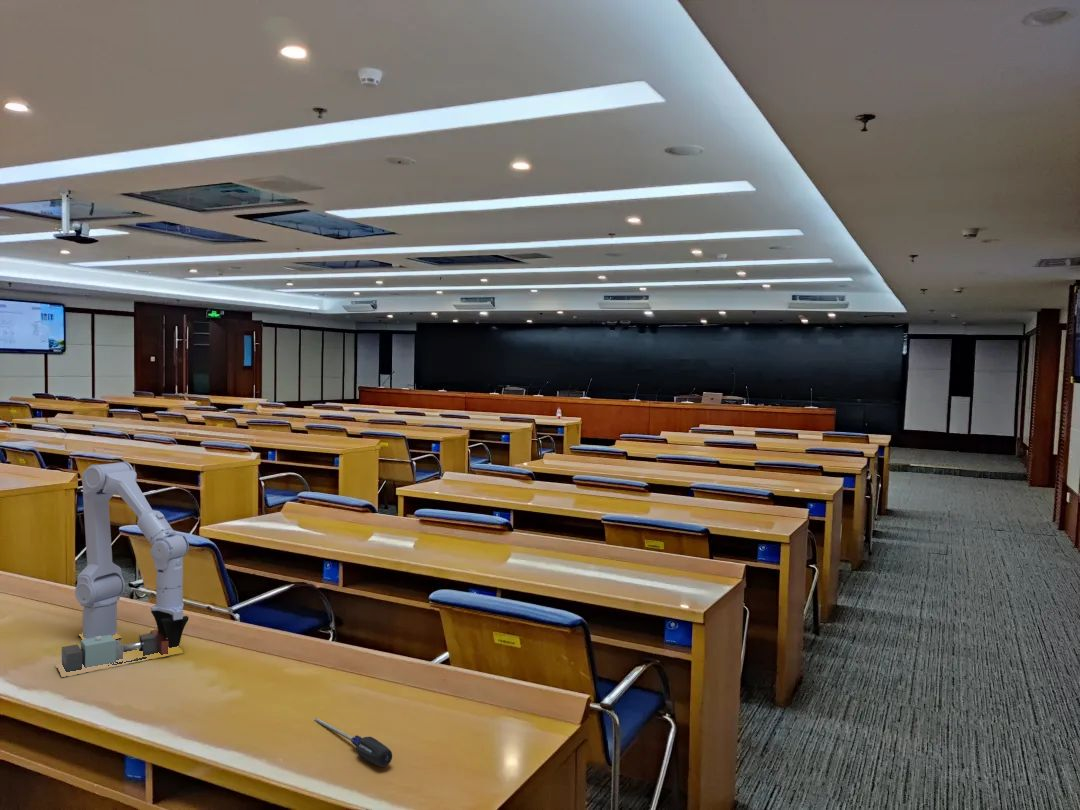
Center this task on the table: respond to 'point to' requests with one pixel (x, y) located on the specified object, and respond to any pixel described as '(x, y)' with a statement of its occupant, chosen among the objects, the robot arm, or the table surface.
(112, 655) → the block
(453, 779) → the table surface
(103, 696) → the table surface
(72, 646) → the frame
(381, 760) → the screwdriver
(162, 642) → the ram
